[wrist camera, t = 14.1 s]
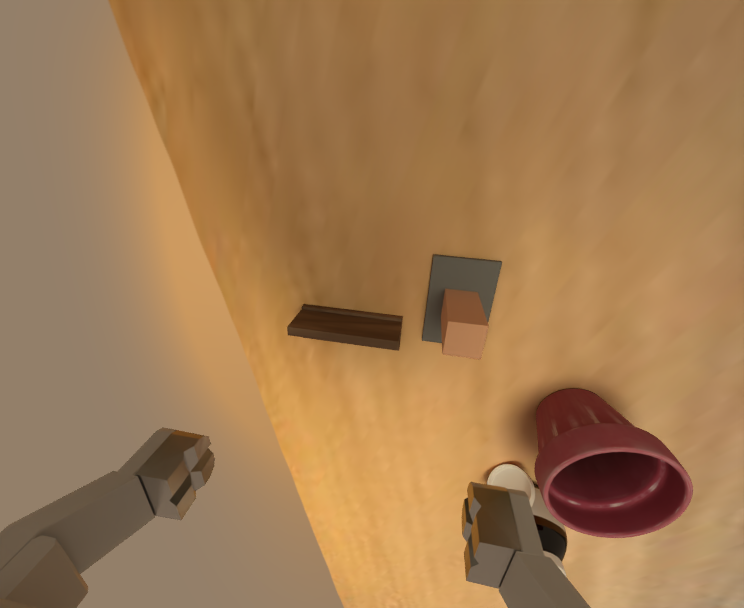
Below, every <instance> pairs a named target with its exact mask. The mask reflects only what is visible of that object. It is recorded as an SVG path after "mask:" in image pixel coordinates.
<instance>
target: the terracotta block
mask: <svg viewBox="0 0 744 608" xmlns="http://www.w3.org/2000/svg"><path fill="white" fill-rule="evenodd" d="M488 328H489V325H488V322H487V319H486V316H485V313H484V310H483V307H482V304H481V301H480V297H479V294H478V292H472V291H463V290H454V289H445V293H444V299H443V306H442V312H441V333H442V353H443V354H444V355H451V356H458V357H466V358H473V359H481V358H482V354H483V349H484V345H485V341H486V336H487V332H488Z"/></svg>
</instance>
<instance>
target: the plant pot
mask: <svg viewBox="0 0 744 608" xmlns="http://www.w3.org/2000/svg"><path fill="white" fill-rule="evenodd" d="M536 422H537V433H538V447H539V454H538V456H537V459H536V462H535V477H536V480H537V484H538V487H539V490H540V492H541V495H542V498H543V501H544V503H545V505H546V507H547V509H548V511H549V512H550V513H551V515H552V516H553V517H554V518H555V519H557V520H558V521H559V522H560V523H562V524H563V525H565V526H567V527H569V528H571V529H573V530H575V531H578V532H581V533H584V534H588V535H592V536H597V537H607V538H625V537H634V536H639V535H644V534H647V533H651V532H654V531H656V530H659V529H661V528H663V527H665V526H667V525H669V524H670V523H672V522H673V521H675V520H676V519H677V518H678V517H680V516H681V515H682V513H683V512H684V511H685V510H686V508H687V507H688V505H689V503H690V501H691V498H692V494H693V486H692V482H691V479H690V477H689V475H688V473H687V472H686V470H685V469H684V468H683V466H682V465H681V464H680V463H679V461H678V460H677V459H676V457H675V456H674V455H673V454H672V453H671V452H670V450H669V449H668V448H667V447H666V446H665V445H664V444H663V443H662V442H661V441H660V440H659V439H658V438H657V437H655V436H654V435H652V434H650V433H649V432H646V431H644V430H642V429H639V428H637V427H635V426H633V425H632V424H631V423H630V422H629V421H628V420H626V419H625V418H624V417H623V416H622V415H621V414H619V413H618V412H617V411H616V410H615V409H613V408H612V407H611V406H610V405H608V404H607V403H606V402H605V401H604V400H603V399H601V398H600V397H599V396H598V395H596V394H595V393H593V392H590V391H587V390H583V389H565V390H560V391H557V392H555V393H553V394H551V395H549V396H548V397H546V398H545V399H544V400H543V401H542V402H541V403H540V405H539V406H538V408H537V412H536Z"/></svg>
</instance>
